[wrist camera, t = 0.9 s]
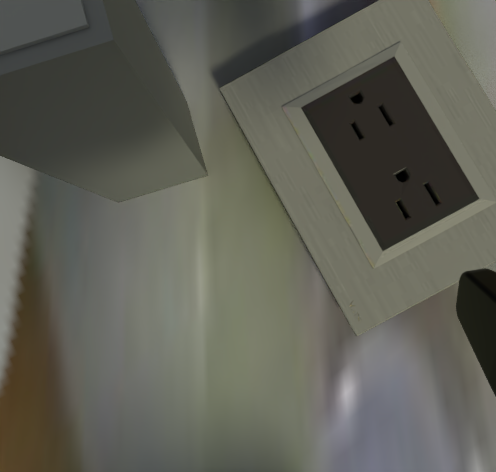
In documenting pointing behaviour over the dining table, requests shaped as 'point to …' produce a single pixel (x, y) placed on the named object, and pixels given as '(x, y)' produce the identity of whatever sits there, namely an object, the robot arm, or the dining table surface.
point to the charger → (92, 98)
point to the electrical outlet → (378, 155)
